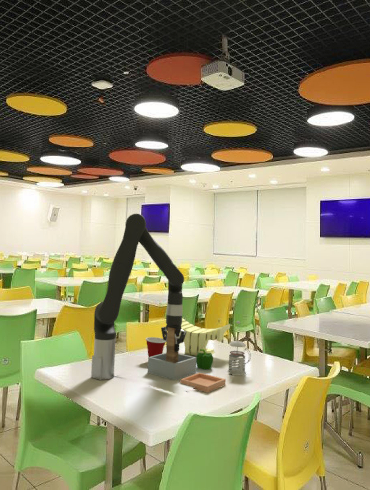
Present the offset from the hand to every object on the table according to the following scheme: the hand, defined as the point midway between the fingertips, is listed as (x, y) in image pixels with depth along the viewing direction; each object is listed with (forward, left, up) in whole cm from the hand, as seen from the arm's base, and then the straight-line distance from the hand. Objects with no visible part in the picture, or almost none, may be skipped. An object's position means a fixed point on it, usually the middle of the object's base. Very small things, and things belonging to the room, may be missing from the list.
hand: (172, 350), depth 190 cm
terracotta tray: (-2, -19, -11) cm, 22 cm away
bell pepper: (+18, -6, -11) cm, 22 cm away
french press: (+25, -21, -11) cm, 35 cm away
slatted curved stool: (+42, +14, -11) cm, 46 cm away
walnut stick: (0, 0, -5) cm, 5 cm away
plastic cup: (+11, +20, -11) cm, 26 cm away
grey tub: (0, 0, -11) cm, 11 cm away
